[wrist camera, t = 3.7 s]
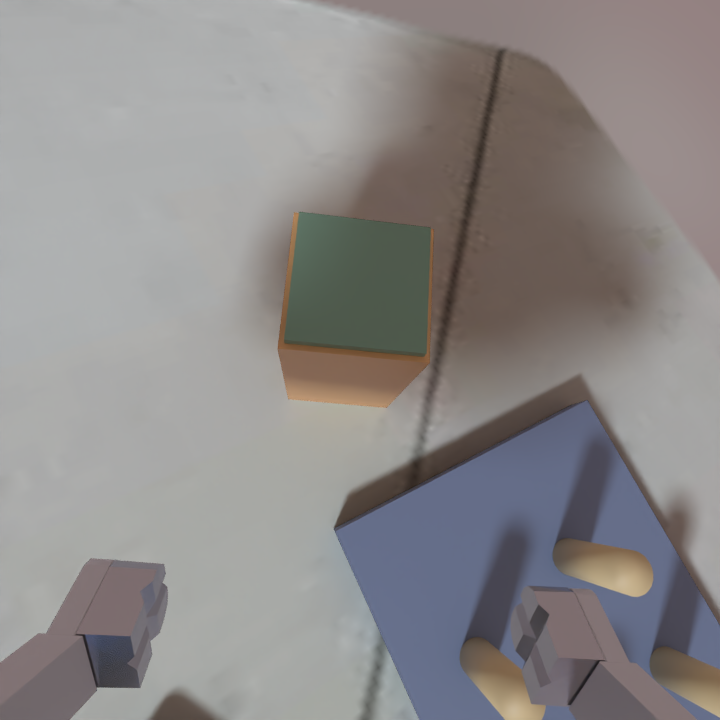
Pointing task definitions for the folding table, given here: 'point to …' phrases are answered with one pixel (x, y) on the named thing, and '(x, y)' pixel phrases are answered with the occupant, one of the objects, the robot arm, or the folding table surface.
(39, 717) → the robot arm
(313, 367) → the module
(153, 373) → the folding table surface
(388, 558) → the chassis plate
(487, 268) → the folding table surface
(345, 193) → the folding table surface
